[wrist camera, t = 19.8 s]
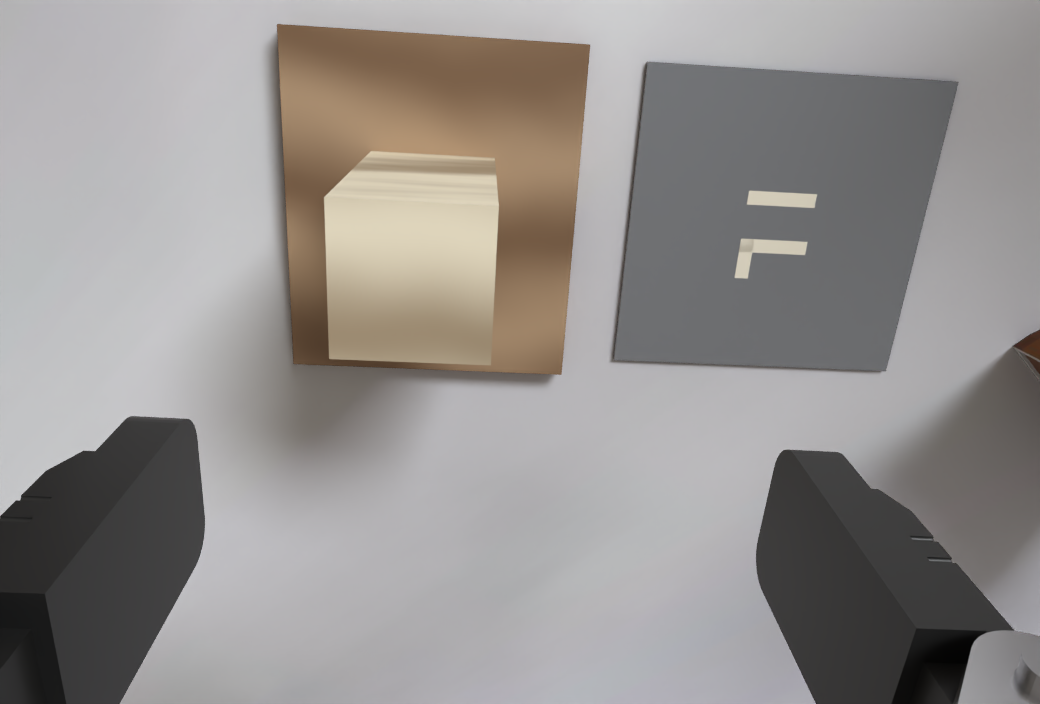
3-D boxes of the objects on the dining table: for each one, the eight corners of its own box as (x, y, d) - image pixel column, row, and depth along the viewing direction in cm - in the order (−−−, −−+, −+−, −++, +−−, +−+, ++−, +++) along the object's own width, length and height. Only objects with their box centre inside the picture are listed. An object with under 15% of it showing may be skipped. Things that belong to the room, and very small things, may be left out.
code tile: (647, 61, 32) (647, 61, 32) (955, 81, 33) (958, 81, 32) (613, 358, 37) (614, 360, 36) (883, 369, 37) (885, 371, 37)
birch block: (370, 150, 32) (324, 197, 22) (494, 158, 32) (498, 206, 23) (372, 270, 34) (329, 358, 24) (489, 275, 34) (490, 365, 25)
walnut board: (283, 24, 31) (276, 24, 30) (587, 44, 32) (590, 44, 31) (298, 355, 36) (293, 364, 35) (559, 366, 37) (561, 374, 36)
